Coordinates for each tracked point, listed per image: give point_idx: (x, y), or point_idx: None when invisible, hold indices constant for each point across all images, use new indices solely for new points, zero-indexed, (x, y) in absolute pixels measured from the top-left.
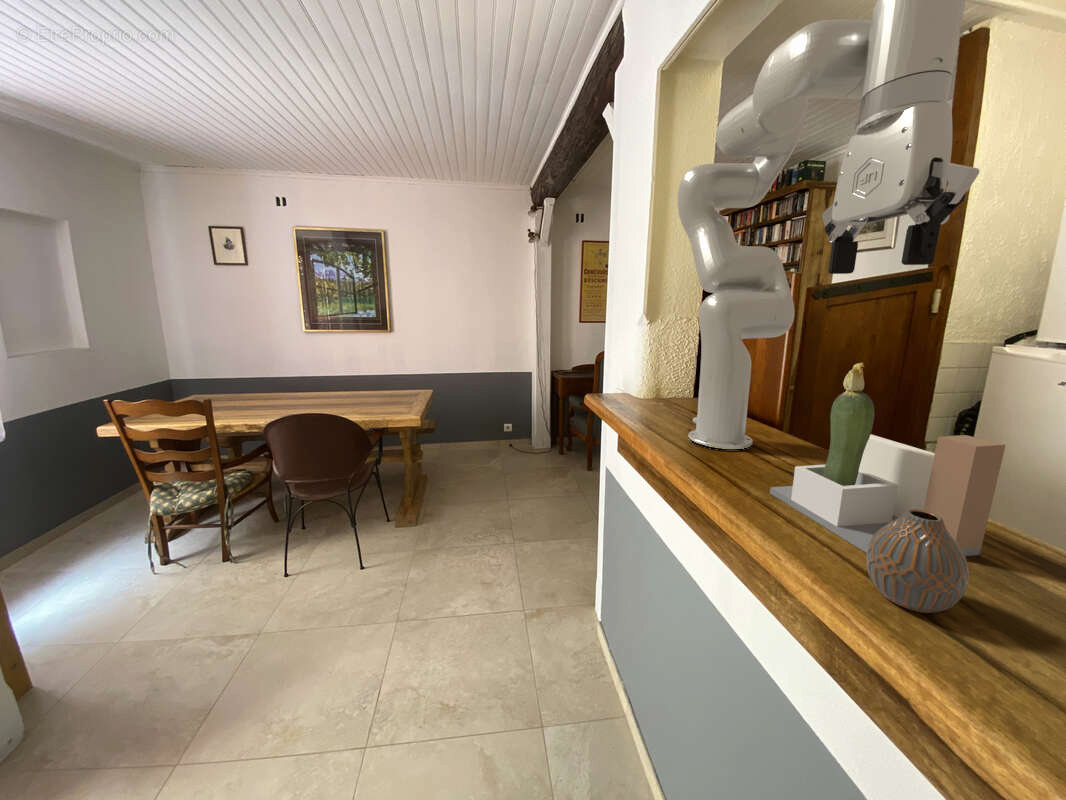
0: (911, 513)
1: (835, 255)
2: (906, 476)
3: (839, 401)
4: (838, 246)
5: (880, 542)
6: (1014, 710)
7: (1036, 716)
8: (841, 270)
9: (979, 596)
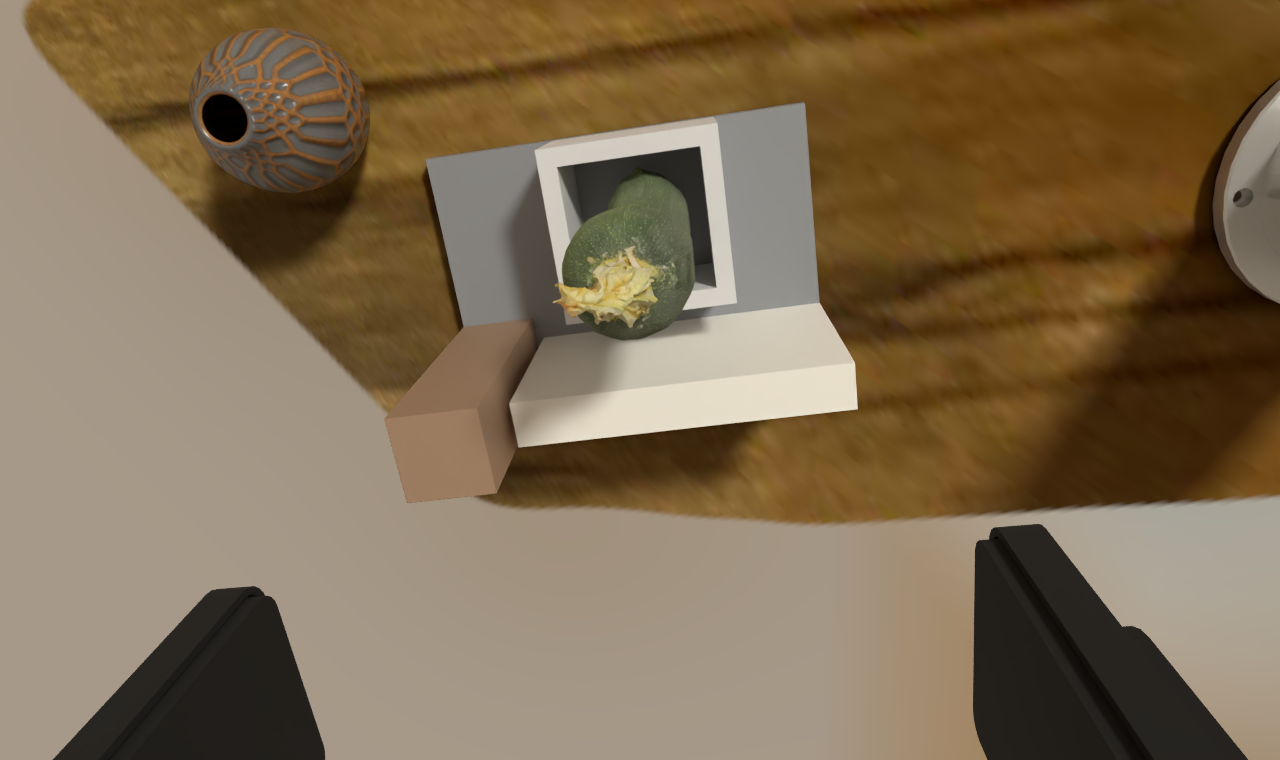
0: (266, 122)
1: (1052, 646)
2: (589, 367)
3: (619, 222)
4: (1094, 750)
5: (263, 37)
6: (81, 51)
7: (78, 73)
8: (983, 623)
9: (342, 253)
